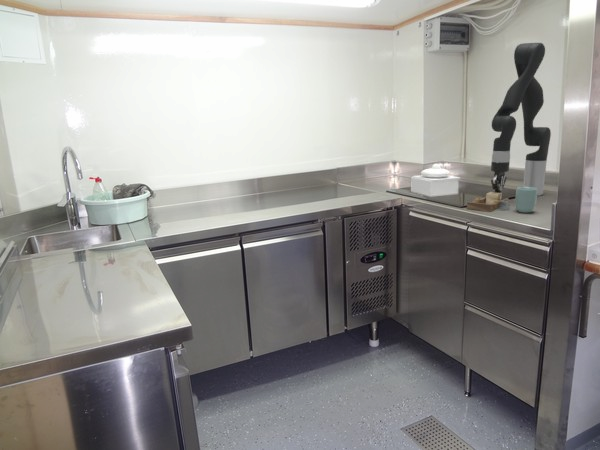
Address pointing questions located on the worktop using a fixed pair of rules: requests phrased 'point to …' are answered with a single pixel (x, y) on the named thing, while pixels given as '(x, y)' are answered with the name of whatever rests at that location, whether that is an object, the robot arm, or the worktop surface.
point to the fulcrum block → (503, 205)
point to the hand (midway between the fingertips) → (497, 198)
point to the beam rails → (484, 205)
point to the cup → (525, 199)
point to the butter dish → (435, 182)
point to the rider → (493, 197)
